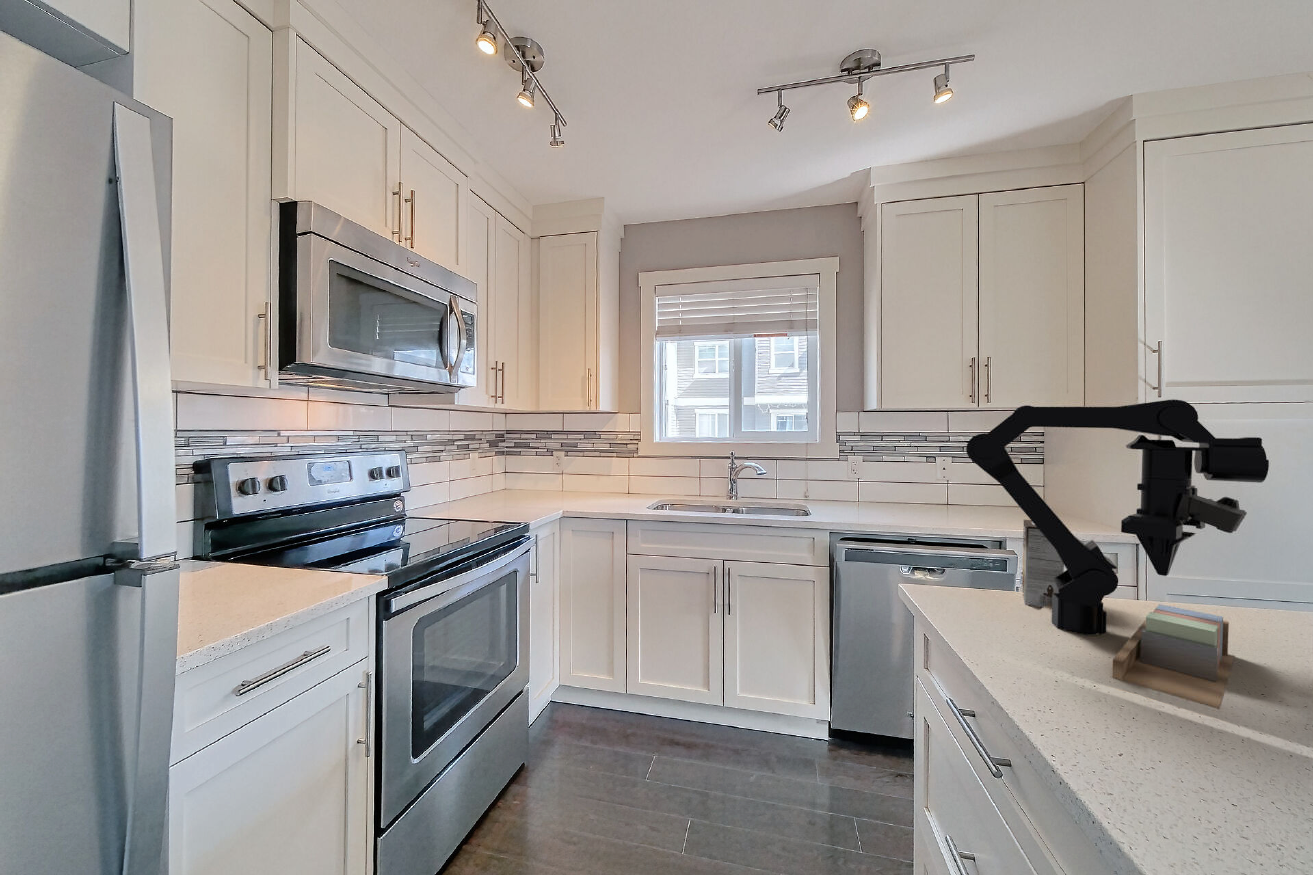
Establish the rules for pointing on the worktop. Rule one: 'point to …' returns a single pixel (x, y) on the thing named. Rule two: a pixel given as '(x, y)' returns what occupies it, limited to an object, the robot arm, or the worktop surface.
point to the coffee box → (1039, 567)
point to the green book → (1182, 628)
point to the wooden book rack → (1172, 673)
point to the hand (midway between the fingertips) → (1162, 575)
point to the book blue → (1196, 615)
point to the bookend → (1179, 654)
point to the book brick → (1197, 621)
